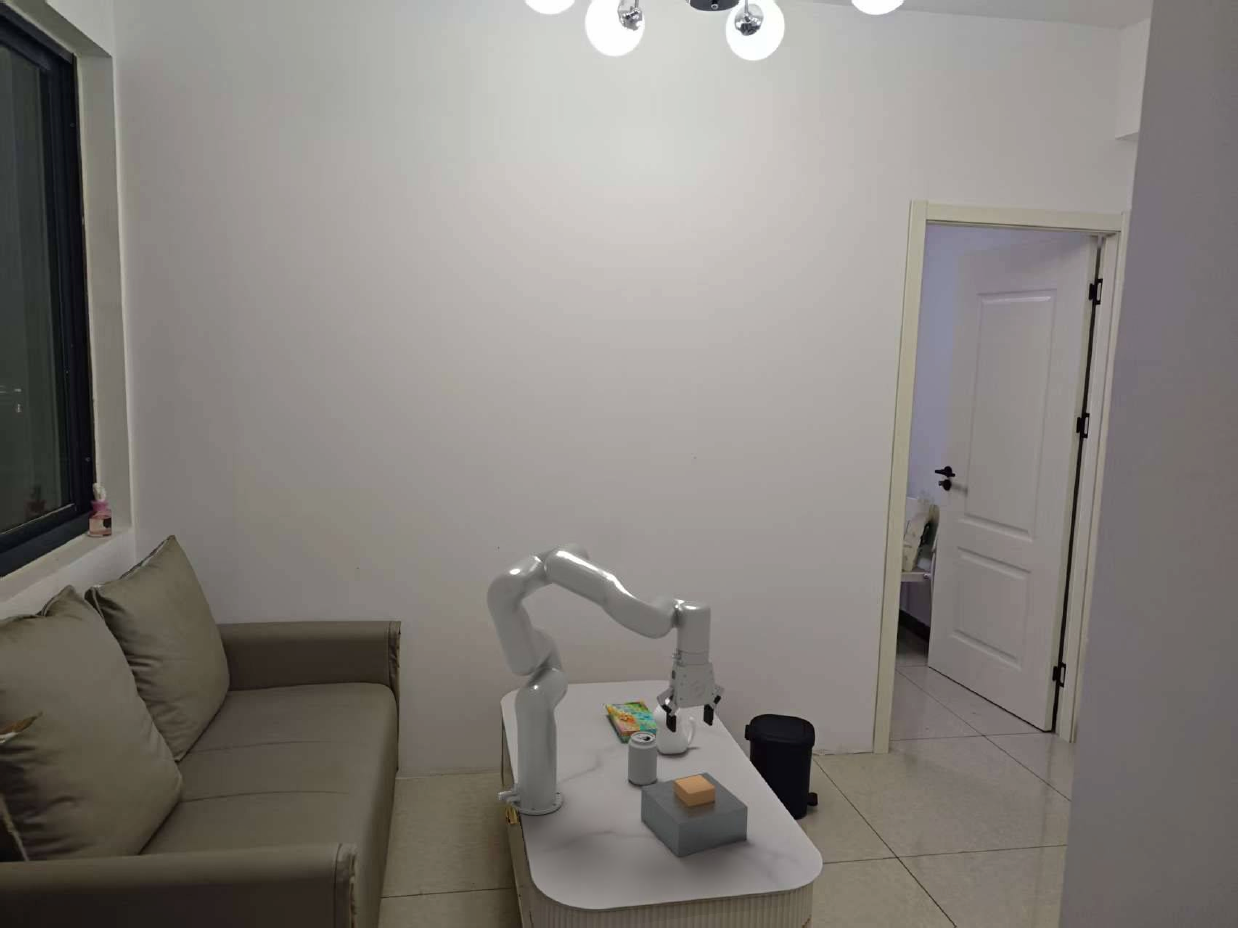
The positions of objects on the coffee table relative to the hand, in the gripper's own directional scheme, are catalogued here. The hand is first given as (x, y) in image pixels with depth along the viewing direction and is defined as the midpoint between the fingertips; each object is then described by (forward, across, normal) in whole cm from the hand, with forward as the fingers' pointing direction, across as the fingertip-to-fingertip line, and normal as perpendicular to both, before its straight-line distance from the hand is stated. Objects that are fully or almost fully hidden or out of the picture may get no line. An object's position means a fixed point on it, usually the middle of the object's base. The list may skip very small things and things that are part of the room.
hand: (689, 726), depth 206 cm
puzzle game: (+25, +12, +54) cm, 61 cm away
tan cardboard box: (+22, +1, -2) cm, 22 cm away
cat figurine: (+25, +16, +36) cm, 47 cm away
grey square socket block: (+24, +1, -2) cm, 24 cm away
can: (+25, +1, +24) cm, 35 cm away
